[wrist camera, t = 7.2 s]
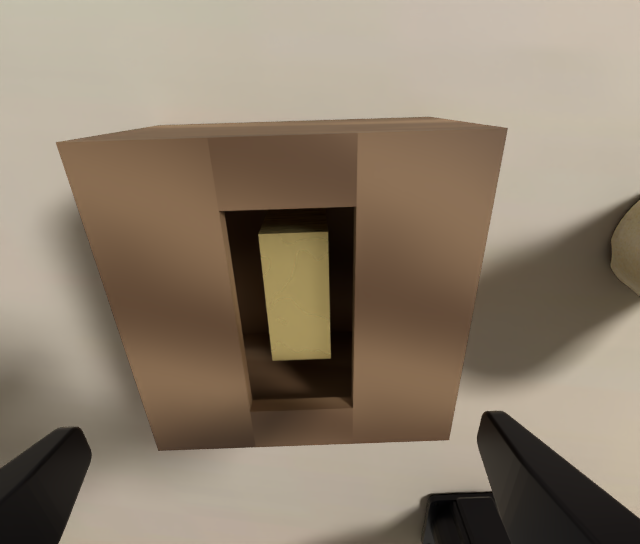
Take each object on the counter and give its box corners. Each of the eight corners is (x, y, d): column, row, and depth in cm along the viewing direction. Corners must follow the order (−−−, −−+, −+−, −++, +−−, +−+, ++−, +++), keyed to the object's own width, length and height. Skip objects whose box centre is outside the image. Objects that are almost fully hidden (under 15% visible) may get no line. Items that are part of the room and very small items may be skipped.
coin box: (407, 337, 21) (449, 440, 15) (204, 345, 21) (158, 450, 15) (429, 117, 16) (507, 128, 9) (158, 125, 16) (55, 142, 9)
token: (326, 297, 19) (330, 358, 15) (281, 299, 19) (272, 360, 15) (323, 196, 17) (327, 231, 12) (272, 198, 17) (258, 234, 12)
